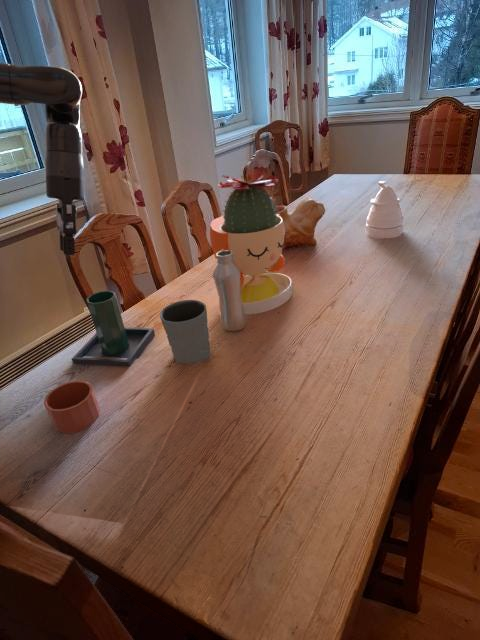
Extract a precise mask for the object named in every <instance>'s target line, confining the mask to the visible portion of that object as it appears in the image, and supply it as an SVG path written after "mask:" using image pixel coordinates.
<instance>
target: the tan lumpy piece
mask: <svg viewBox="0 0 480 640" xmlns="http://www.w3.org/2000/svg"><path fill="white" fill-rule="evenodd" d="M275 206H276V207H275V208H277V209H276V211H278V212H276V214H280V216H281V218H282V220H283V224H284V229H285V242H284V246H283V250H282V251H285V250H284V249H286V250H290V249H289V248H291V249H294V248H293V247H296V248H299V247H298V246H301V247H307V246H306V245H308V246H315V245H317V244H316V243H317V240H316V237H315V232H316V227H317V224H318V223H319V222H320V220H321V219H323V217H324V215H325V213H326V208H325V205H324V203H322V202H317V201H316V200H315V199H312V198H311V197H304V198H303V199H302V200H301V201H300V202H298V204H297V206H295V208H294V209H293V210H292V211H291V212H290V211H289V212H288V207H287V206H286V205H275Z"/></svg>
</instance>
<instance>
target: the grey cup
mask: <svg viewBox="0 0 480 640" xmlns="http://www.w3.org/2000/svg"><path fill="white" fill-rule="evenodd" d="M159 317H160V321H161V324H162V326H163V329H164V332H165V335H166V338H167V341H168V344H169V347H171V349H170V350H171V353H172V356H173V359H174V361H176V362H177V363H179V364H183V365H193V364H198V363H204V362H206V361H207V360H208V359H209V358H210V355H211V352H212V351H211V343H210V333H209V327H208V323H209V322H208V311H207V305H206V304H205V303H204V302H203V301H200V300H196V299H184V300H179V301H176V302H172V303H169V304H168V305H167V306H165V307H163V308H162V310H161V311H160V314H159Z"/></svg>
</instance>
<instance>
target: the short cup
mask: <svg viewBox="0 0 480 640" xmlns="http://www.w3.org/2000/svg"><path fill="white" fill-rule="evenodd" d="M43 405H44V408H45V410H46V412H47V415H48V417H49V420H50V422H51V425H52V427H53V429H54V430H55V431H56V432H57V433H61V434H72V433H73V434H74V433H77V432H80V431H83V430H85V429H86V428H88V427H90V426H91V425H92V424H94V423H95V422H96V421H97V420H98V418H99V416H100V412H101V408H100V405H99V403H98V399H97V396H96V394H95V391H94V388H93V387H92V384H91V383H90V382H88V381H85V380H72V381H68V382H64V383H62V384H60V385H58V386H56V387H54V388H53V389H52V390H50V392H48V394H47V395H46V396H45V398H44V400H43Z"/></svg>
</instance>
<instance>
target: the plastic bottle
mask: <svg viewBox="0 0 480 640" xmlns="http://www.w3.org/2000/svg"><path fill="white" fill-rule="evenodd" d="M216 256H217V260H216V263H217V265H216V266H215V268H214V270H213V273H212V277H213V282H214V286H215V288H216V292H217V296H218V301H219V302H218V303H219V323H220V325H221V328H223V329H224V330H225V331H229V332H237V331H239V330H242V329H243V328H244V327H245V326H246V324H247V314H245V311H244V309H243V304H242V300H241V289H240V283H241V273H240V270H239V268H238V267H237V266H236V265H235V264H234V263H233V262H232V261H233V255H232V251H220V252H218V253H217V254H216Z"/></svg>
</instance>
